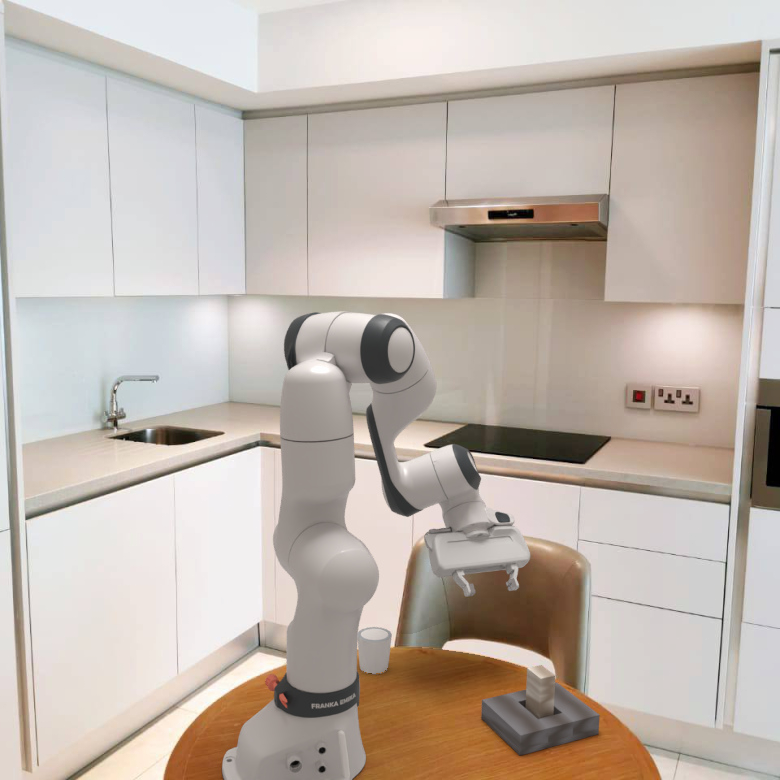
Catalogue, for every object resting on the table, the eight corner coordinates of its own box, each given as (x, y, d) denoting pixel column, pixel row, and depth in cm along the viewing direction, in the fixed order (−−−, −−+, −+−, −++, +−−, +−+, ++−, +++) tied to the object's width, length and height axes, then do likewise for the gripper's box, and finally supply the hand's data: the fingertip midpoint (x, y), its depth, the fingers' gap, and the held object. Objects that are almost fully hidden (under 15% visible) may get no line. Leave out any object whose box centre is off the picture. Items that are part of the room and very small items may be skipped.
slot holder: (519, 755, 127) (520, 735, 126) (481, 718, 137) (481, 699, 137) (598, 734, 133) (599, 714, 133) (555, 700, 144) (556, 682, 144)
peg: (538, 728, 133) (540, 678, 132) (525, 716, 136) (527, 668, 135) (552, 724, 134) (555, 675, 133) (539, 713, 138) (541, 665, 136)
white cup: (390, 659, 159) (391, 626, 158) (391, 675, 152) (392, 641, 151) (356, 659, 159) (357, 626, 158) (356, 675, 152) (357, 641, 151)
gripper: (427, 521, 145) (449, 591, 138) (519, 514, 154) (545, 578, 146) (415, 538, 150) (436, 605, 142) (505, 529, 158) (530, 593, 151)
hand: (492, 592), depth 144 cm, fingers open, 8 cm apart
